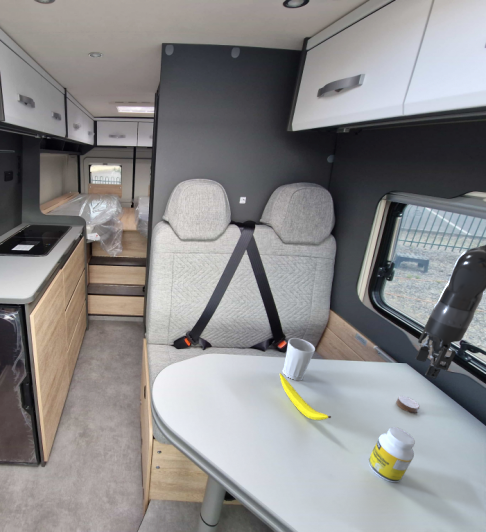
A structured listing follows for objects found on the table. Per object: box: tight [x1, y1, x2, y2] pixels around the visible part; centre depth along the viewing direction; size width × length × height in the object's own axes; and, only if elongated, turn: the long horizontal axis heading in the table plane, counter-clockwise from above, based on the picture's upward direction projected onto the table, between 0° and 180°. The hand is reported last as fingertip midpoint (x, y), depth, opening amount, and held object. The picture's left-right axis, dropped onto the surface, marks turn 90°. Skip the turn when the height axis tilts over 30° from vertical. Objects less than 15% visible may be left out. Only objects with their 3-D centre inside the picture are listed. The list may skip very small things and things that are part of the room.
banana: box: [279, 372, 332, 421], centre depth 91 cm, size 3×19×6 cm, turn 15°
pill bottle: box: [368, 426, 416, 483], centre depth 73 cm, size 6×6×12 cm
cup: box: [282, 337, 316, 381], centre depth 104 cm, size 8×8×12 cm
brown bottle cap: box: [395, 395, 420, 414], centre depth 95 cm, size 5×5×2 cm
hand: (424, 368), depth 89 cm, fingers open, 8 cm apart
